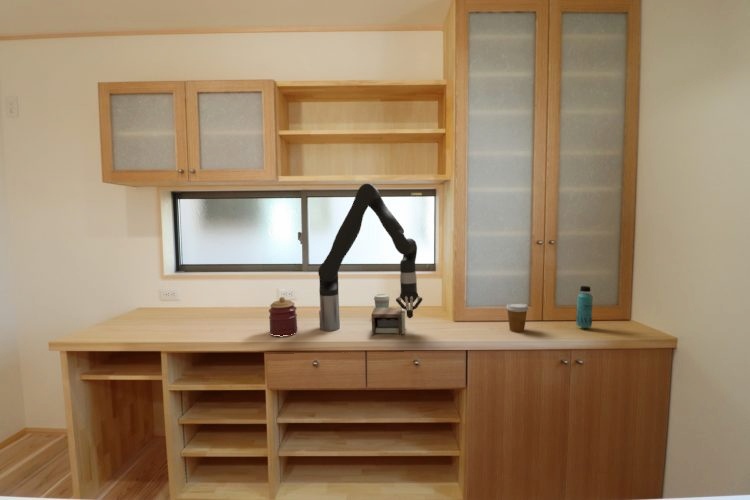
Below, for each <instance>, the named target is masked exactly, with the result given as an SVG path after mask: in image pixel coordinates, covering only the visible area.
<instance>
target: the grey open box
mask: <svg viewBox="0 0 750 500" xmlns="http://www.w3.org/2000/svg"><path fill="white" fill-rule="evenodd" d="M378 328H399V324H398V317H379V318H378Z"/></svg>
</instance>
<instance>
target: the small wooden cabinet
mask: <svg viewBox="0 0 750 500" xmlns="http://www.w3.org/2000/svg"><path fill="white" fill-rule="evenodd" d="M379 317H398V324H399V333H398V336H400V337H401V336H402V333H401V323H402V307H389V308H376V307H374V308H373V310H372V313H371V335H372V336H375V335H376V334H377V333H376V329H375V328H377V323H378V318H379Z"/></svg>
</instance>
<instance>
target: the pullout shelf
mask: <svg viewBox="0 0 750 500" xmlns="http://www.w3.org/2000/svg"><path fill="white" fill-rule="evenodd" d="M401 308H402V307H401ZM375 329H376V333H375V334H399V328H378V323H377V328H375ZM405 330H406V310H405V309H403V308H402V323H401V335H402V334H403V335H405V334H406V333H405V332H406V331H405Z"/></svg>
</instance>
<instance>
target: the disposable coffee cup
mask: <svg viewBox="0 0 750 500" xmlns="http://www.w3.org/2000/svg"><path fill="white" fill-rule="evenodd" d="M505 307H506V310H507V317H508V324H509V331H511V332H514V333H523V332H525V326H526V321H527V313H528V310H529V307H528V304H525V303H519V302H511V303H510V302H509V303H507V305H506V306H505Z"/></svg>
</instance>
